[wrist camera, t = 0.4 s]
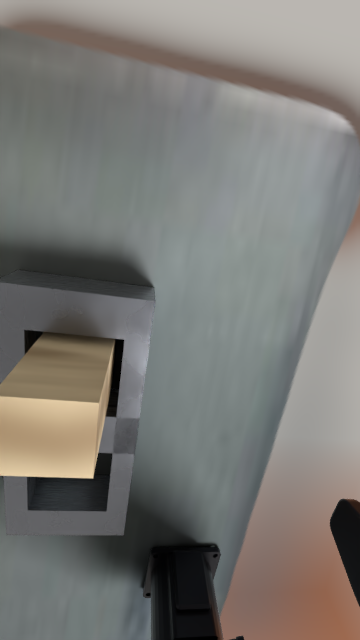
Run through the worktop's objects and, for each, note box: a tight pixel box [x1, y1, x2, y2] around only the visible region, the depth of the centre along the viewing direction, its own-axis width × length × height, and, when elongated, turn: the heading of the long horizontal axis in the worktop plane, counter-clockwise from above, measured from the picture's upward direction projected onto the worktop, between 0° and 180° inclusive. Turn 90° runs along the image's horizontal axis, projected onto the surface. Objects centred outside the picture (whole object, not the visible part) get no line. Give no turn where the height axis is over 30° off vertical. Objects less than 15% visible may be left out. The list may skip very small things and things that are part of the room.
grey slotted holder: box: [0, 270, 155, 535], centre depth 20 cm, size 18×8×3 cm, turn 171°
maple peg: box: [0, 332, 116, 479], centre depth 16 cm, size 4×4×8 cm
